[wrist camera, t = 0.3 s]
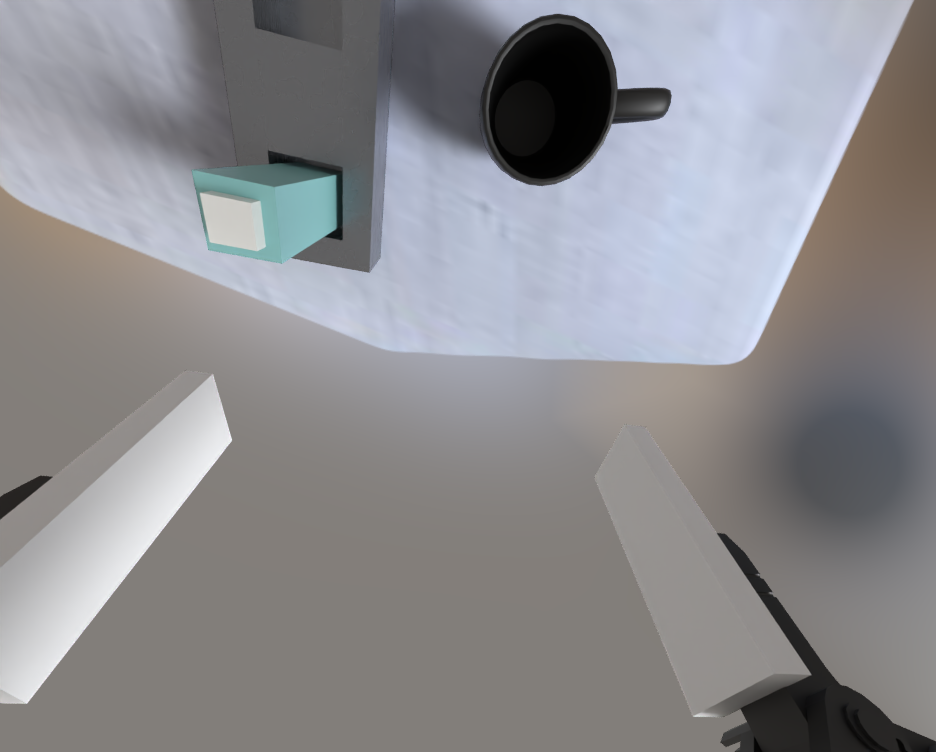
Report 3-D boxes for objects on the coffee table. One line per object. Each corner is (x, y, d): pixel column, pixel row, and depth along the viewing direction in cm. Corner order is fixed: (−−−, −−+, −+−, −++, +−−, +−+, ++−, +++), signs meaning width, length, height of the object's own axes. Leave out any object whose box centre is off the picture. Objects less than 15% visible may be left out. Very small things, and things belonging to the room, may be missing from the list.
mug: (607, 175, 31) (658, 184, 23) (475, 177, 31) (481, 187, 23) (630, 52, 26) (704, 11, 18) (475, 54, 26) (482, 13, 18)
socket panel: (238, -128, 21) (185, -195, 17) (399, -76, 23) (385, -127, 18) (276, 237, 33) (249, 250, 29) (380, 257, 34) (369, 272, 30)
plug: (299, 162, 29) (177, 170, 16) (347, 172, 29) (265, 189, 17) (302, 212, 31) (196, 254, 19) (347, 221, 32) (274, 268, 19)
